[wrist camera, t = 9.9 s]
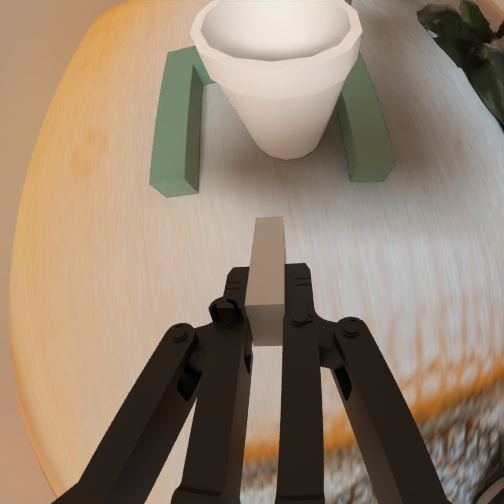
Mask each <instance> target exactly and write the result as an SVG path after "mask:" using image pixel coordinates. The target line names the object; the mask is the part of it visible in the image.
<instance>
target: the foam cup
mask: <svg viewBox="0 0 504 504" xmlns="http://www.w3.org/2000/svg"><path fill="white" fill-rule="evenodd" d="M362 31H363V30H362V27H361V23H360V20H359V17H358V13H357V11H356V10H355V9H354V8H353V7H351V6H350V5H349V4H348V3H347V2H345V1H344V0H213V1H212V2H211V3H210V4H209V5H207V6H206V7H205V8H204V9H203V10H201V11H200V12H199V13H198V14H197V16H196V18H195V21H194V24H193V26H192V29H191V31H190V35H191V37H192V40H193V42H194V44H195V46H196V48H197V51H198V53H199V55H200V57H201V60H202V62H203V64H204V66H205V68H206V70H207V72H208V74H209V76H210V79H212V80H213V81H215V82H217V83H218V85H219V86H220V88H221V89H222V91H223V92H224V94H225V95H226V97H227V98H228V100H229V101H230V103H231V105H232V106H233V108H234V109H235V111H236V112H237V114H238V116H239V117H240V119H241V120H242V122H243V124H244V125H245V127H246V128H247V130H248V132H249V133H250V135H251V137H252V138H253V140H254V142H255V143H256V145H257V146H258V148H260V149H261V150H262V151H264V152H265V153H266V154H268V155H269V156H271V157H275V158H279V159H283V160H290V159H296V158H302V157H304V156H305V155H307V154H309V153H310V152H312V151H313V150H315V149H316V147H317V145H318V143H319V142H320V140H321V138H322V136H323V134H324V132H325V129H326V127H327V124H328V122H329V119H330V117H331V114H332V112H333V110H334V107H335V105H336V102H337V100H338V97H339V95H340V92H341V90H342V87H343V85H344V82H345V80H346V77H347V75H348V74H349V72H350V70H351V69H352V67H353V65H354V64H355V62H356V60H357V59H358V53H359V48H360V43H361V37H362Z"/></svg>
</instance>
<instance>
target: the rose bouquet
mask: <svg viewBox="0 0 504 504" xmlns="http://www.w3.org/2000/svg"><path fill="white" fill-rule="evenodd" d="M460 1H461V3H460V6H459V8H460V10H461V14H462V15H460V14H459V13H458V12H457V11H456V10H455V9H454V8H453V7H452V6H450V5H434V4H433V5H432V4H427V5H426V6H425V7H424V9H423V10H421V11H418V12H417V15H418V21H419V22H420V23H421V24H422V26H423V27H424V28H425V29H426V30H427V29H429V30H430V31H432V32H434V33H435V34H437V35H438V37H436V38H433V37H432V38H433V39H434V40H435V41H436V43H437V44H438V45H439V46H440V47H441V48H442V49H443V50H444V51H445V52H446V53H447V54H448V55H449V57H450V58H451V59H452V60H453V61H454V62H455V64H456V65H457V67H460V68H462V69H463V71H464V72H465V73H466V74H467V76H468V77H469V78H470V80H471V82H472V84H473V86H474V88H475V89H476V91H477V93H478V94H479V95H480V97H481V99H482V100H483V102H484V103H485V105H486V106H487V107H488V109H489V110H490V111H491V113H492V114H493V115H494V116H495V117H496V118H497V119H498V120H499V121H500V122H501V123H502V124H503V125H504V21H503V22H502V24H501V25H500V27H499V30H498V32H493V31H492V30H491V29H490V27H489V25H490V24H489V22H488V21H487V20H486V18H485V17H484V16H483V14H482V13H481V11H480V9H479V7H478V6H477V5H475V3H474V2H473V1H471V0H460ZM427 32H428V31H427ZM428 33H429V32H428Z"/></svg>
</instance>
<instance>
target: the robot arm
mask: <svg viewBox="0 0 504 504" xmlns="http://www.w3.org/2000/svg"><path fill="white" fill-rule="evenodd" d="M208 309H209V312H210V315H211V318H212V320H213V322H211V323H210V324H208V325H205V326H201V327H197V328H193V327H192V326H191V325H190V324H187V323H179V324H175V325H174V326H172V327H170V328H169V330H168V331H167V332H166V333H165V335H164V337H163V338H162V340H161V341H160V343H159V345H158V346H157V348H156V350H155V351H154V353H153V354H152V356H151V358H150V359H149V361H148V363H147V364H146V366H145V368H144V369H143V371H142V372H141V374H140V376H139V377H138V379H137V381H136V382H135V384H134V386H133V387H132V389H131V391H130V392H129V394H128V396H127V397H126V399H125V401H124V403H123V404H122V406H121V408H120V409H119V411H118V413H117V414H116V416H115V418H114V420H113V421H112V423H111V425H110V426H109V428H108V430H107V432H106V433H105V435H104V437H103V439H102V440H101V442H100V444H99V446H98V447H97V449H96V451H95V453H94V455H93V456H92V458H91V460H90V462H89V464H88V465H87V467H86V469H85V471H84V473H83V474H82V476H81V478H80V480H79V482H78V483H76V484H75V485H74V486H73V487H71V488H70V489H69V490H68V491H66V492H65V493H64V494H63V495H61V496H60V497H59V498H58V499H56V500H55V501H54V502H52V503H51V504H144V503H145V501H146V500H147V498H148V496H149V494H150V492H151V490H152V488H153V486H154V484H155V482H156V480H157V478H158V476H159V474H160V472H161V470H162V468H163V466H164V464H165V462H166V460H167V458H168V456H169V454H170V452H171V450H172V447H173V445H174V443H175V441H176V439H177V437H178V435H179V433H180V431H181V429H182V427H183V425H184V423H185V421H186V419H187V417H188V415H189V413H190V411H191V409H192V407H193V404H194V402H195V400H196V398H197V401H196V407H195V412H194V417H193V422H192V427H191V432H190V438H189V443H188V448H187V454H186V459H185V465H184V470H183V476H182V481H181V484H180V486H179V487H178V488H177V489H176V490H175V491H174V493H173V495H172V499H171V504H241V503H240V487H241V477H242V468H243V458H244V448H245V438H246V427H247V417H248V406H249V396H250V385H251V374H252V363H253V353H252V341H253V345H254V346H281V345H283V352H282V390H281V418H280V440H279V459H278V476H277V491H276V498H275V504H325V497H324V446H323V412H322V390H321V373H320V366H321V367H325V368H329V369H330V370H331V373H332V375H333V378H334V381H335V383H336V386H337V389H338V391H339V394H340V396H341V399H342V402H343V404H344V407H345V410H346V413H347V415H348V418H349V421H350V423H351V426H352V429H353V432H354V434H355V437H356V440H357V443H358V446H359V448H360V451H361V454H362V457H363V460H364V463H365V466H366V468H367V471H368V474H369V477H370V480H371V483H372V486H373V489H374V492H375V495H376V498H377V501H378V504H452V503H451V502H450V501H449V500H448V499H446V496H445V493H444V490H443V488H442V485H441V483H440V480H439V477H438V475H437V472H436V470H435V467H434V465H433V462H432V460H431V458H430V455H429V453H428V450H427V448H426V446H425V443H424V441H423V439H422V437H421V434H420V432H419V430H418V427H417V425H416V423H415V421H414V419H413V416H412V414H411V412H410V410H409V408H408V406H407V404H406V402H405V399H404V397H403V395H402V393H401V391H400V389H399V387H398V385H397V383H396V381H395V379H394V377H393V375H392V373H391V371H390V369H389V367H388V365H387V363H386V361H385V359H384V357H383V355H382V353H381V351H380V350H379V348H378V346H377V344H376V342H375V340H374V338H373V336H372V334H371V333H370V331H369V329H368V327H367V325H366V324H365V323H364V322H363V321H362V320H360V319H359V318H355V317H345V318H343V319H341V320H339V321H338V322H337V323H336V322H331V321H327V320H324V319H322V318H321V317H319V316H318V315H317V313H316V312H315V309H314V301H313V291H312V282H311V273H310V269H309V268H308V266H307V265H306V264H305V263H295V264H286V247H285V234H284V223H283V216H280V217H266V218H256V223H255V231H254V238H253V246H252V253H251V261H250V267H233V268H232V270H231V271H230V272H229V274H228V276H227V280H226V285H225V290H224V294H223V297H220V298H218V299H216V300H214V301H213V302H212V303H211V304H210V306H209V308H208Z"/></svg>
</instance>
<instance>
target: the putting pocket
mask: <svg viewBox="0 0 504 504" xmlns="http://www.w3.org/2000/svg"><path fill="white" fill-rule="evenodd" d="M344 1H345V2H347V3H348V4H349V5H350V6H351V2H352V0H344ZM211 83H217V82H215V81H213V80H212V79H210V76H209V74H208V72H207V70H206V68H205V66H204V64H203V62H202V60H201V57H200V55H199V53H198V51H197V48H196V46H192V47H188V48H184V49H180V50H176V51H172V52H168V54H167V59H166V64H165V69H164V74H163V80H162V85H161V91H160V97H159V104H158V110H157V117H156V125H155V132H154V141H153V150H152V159H151V170H150V183H149V184H150V185H151V186H152V187H154V188H155V189H156V190H158V191H159V192H160V193H161V194H163V195H164V196H165V197H167V198H168V197H175V196H183V195H191V194H198V178H199V142H200V119H201V101H202V85H205V84H211ZM335 106H336V110H337V114H338V119H339V123H340V128H341V133H342V137H343V142H344V148H345V153H346V158H347V164H348V170H349V176H350V182H363V181H384V179H385V178H386V177H387V175H388V174H389V173H390V171H391V170H392V169H393V167H394V166H395V160H394V155H393V151H392V147H391V143H390V140H389V136H388V132H387V129H386V125H385V122H384V118H383V115H382V112H381V108H380V105H379V102H378V99H377V96H376V93H375V90H374V87H373V84H372V82H371V79H370V76H369V73H368V71H367V68H366V66H365V63H364V60H363V58H362V55H361V53H360V51H359V53H358V59H357V60H356V62H355V64H354V65H353V67H352V69H351V70H350V72H349V74H348V75H347V77H346V80H345V82H344V85H343V87H342V90H341V92H340V95H339V97H338V100H337V102H336V105H335Z"/></svg>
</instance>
